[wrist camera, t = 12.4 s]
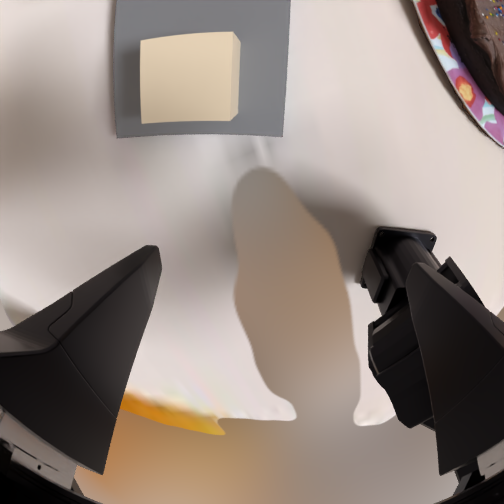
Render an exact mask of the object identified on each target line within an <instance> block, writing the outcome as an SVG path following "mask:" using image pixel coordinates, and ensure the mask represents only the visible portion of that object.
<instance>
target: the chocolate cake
mask: <svg viewBox="0 0 504 504" xmlns="http://www.w3.org/2000/svg"><path fill="white" fill-rule="evenodd" d="M411 1H412V3H413V5H414V6H415V11H416V13H417V15H418V20H419V25H420V27H421V29H422V31H423V32H424V34H425V35H426V38H427V40H428V41H429V42H430V44H431V46H432V48H433V50H434V52H435V54H436V56H437V58H438V60H439V62H440V64H441V66H442V68H443V70H444V71H445V73H446V75H447V77H448V79H449V81H450V83H451V85H452V86H453V88H454V91H455V93H456V94H457V95H458V96H459V99H460V100H462V102H463V108H464V109H465V110H467V112H468V113H469V115H470V116H471V117H472V118H474V119H475V121H476V122H477V124H478V125H479V126H480V127H481V128H482V130H483V131H485V132H486V133H487V136H489V137H490V138H492V139H493V141H495V142H497V143H498V144H499V145H501V146H502V147H503V149H504V0H411Z"/></svg>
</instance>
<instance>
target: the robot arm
mask: <svg viewBox="0 0 504 504" xmlns="http://www.w3.org/2000/svg"><path fill="white" fill-rule="evenodd" d="M381 232H383V234H381V235H380V233H381ZM432 237H433V238H432ZM431 238H432V239H431ZM430 239H431V240H430ZM436 239H437V238H436V236H435V234H434V233H430V232H422V231H414V230H405V229H396V228H387V227H379V228H378V229H377V230H376V232H375V236H374V239H373V243H372V246H371V249H369V251H368V253H367V256H366V260H365V263H364V266H363V269H362V278H361V281H360V284H361V287H362V288H367V289H368V291H369V294H370V296H371V299H372V301H373V303H377V304H378V306H379V309H380V312H381V315H382V316H381V317H380V318H379V319H377V320H376V321H375V322H374V321H373V322H371V323H370V324H369V325H368V361H369V364H368V365H369V368H370V370H371V371H372V374H373V376H374V378H375V379H376V380H377V382H378V383H379V384H380V385H381V387H383V388H384V389H385V391H386V392H387V394H388V396H389V398H390V400H391V402H392V404H393V407H394V409H395V412H396V415H397V417H398V420H399V421H401V422H402V423H403V424H404V425H405V426H407V427H408V428H413V427H414V426H416V425H419V424H421V425H423V426H425V427H427V428H429V429H431V430H433V431H435V432H436V440H437V451H438V464H439V474H440V476H441V475H444V474H447V473H449V472H452V471H455V474H456V476H457V479H458V482H459V485H458V486H457V488H456V490H455V492H454V494H453V496H451V497H449V498H447V499H444V500H442V501H440V502H437V503H435V504H504V322H503V321H502V320H500V319H499V318H498V317H497V316H495V315H494V314H493V313H492V312H490V311H489V310H488V309H487V308H485V306H484V304H483V303H482V301H481V300H480V298H479V296H478V295H477V293H476V292H475V290H474V289H473V287H472V286H471V284H470V283H469V281H468V280H467V279H466V277H465V276H464V274H463V273H462V272H461V270H460V269H459V268H458V266H457V265H456V264H455V262H454V261H453V260H452V258H451V257H448V258H447V259H446V260H445V261H446V262H445V263H444V264H443V265H441V264H440V263H439V261H438V260H437V258H436V257H435V256H434V254H433V253H432V250H433V247H434V245H435V242H436ZM161 271H162V264H161V259H160V253H159V248H158V247H157V246H154V245H146V246H144V247H142V248H141V249H139V250H137V251H135V252H134V253H132V254H130V255H129V256H127V257H125V258H124V259H122V260H120V261H119V262H117V263H115V264H114V265H112V266H111V267H109V268H107V269H106V270H104V271H102V272H101V273H99V274H98V275H96V276H95V277H93V278H91V279H90V280H88V281H87V282H85V283H84V284H82V285H80V286H79V287H77V288H76V289H74V290H73V292H70V293H68V294H67V295H65V296H64V297H62V298H60V299H59V300H57V301H56V302H54V303H53V304H51V305H49V306H48V307H46V308H44V309H43V310H41V311H39V312H38V313H36V314H34V315H32V316H31V317H29V318H27V319H26V320H24V321H22V322H21V323H19V324H17V325H16V326H14V327H12V328H10V329H7V330H4V331H0V504H102V503H99V502H97V501H94V500H92V499H90V498H87V497H85V496H84V495H83V493H82V491H81V490H80V488H79V486H78V484H77V483H76V480H75V479H74V474H75V470H76V467H77V465H78V466H81V467H83V468H85V469H88V470H90V471H93V472H96V473H98V474H101V475H103V472H104V468H105V464H106V460H107V455H108V451H109V447H110V443H111V439H112V435H113V431H114V427H115V423H116V420H117V419H116V418H117V416H118V412H119V409H120V405H121V402H122V398H123V395H124V391H125V388H126V385H127V382H128V378H129V375H130V372H131V369H132V366H133V363H134V360H135V357H136V354H137V351H138V348H139V345H140V342H141V339H142V336H143V333H144V330H145V327H146V325H147V322H148V319H149V316H150V313H151V311H152V307H153V303H154V299H155V295H156V291H157V287H158V283H159V279H160V276H161ZM364 283H366V284H364Z"/></svg>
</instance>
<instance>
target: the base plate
mask: <svg viewBox="0 0 504 504" xmlns="http://www.w3.org/2000/svg"><path fill="white" fill-rule="evenodd" d="M290 2H291V0H117V2H116V13H115V28H114V58H113V74H114V106H115V122H116V135H117V138H128V137H140V136H157V135H182V134H229V135H256V136H272V137H283V124H284V110H285V95H286V80H287V63H288V45H289V25H290Z"/></svg>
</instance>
